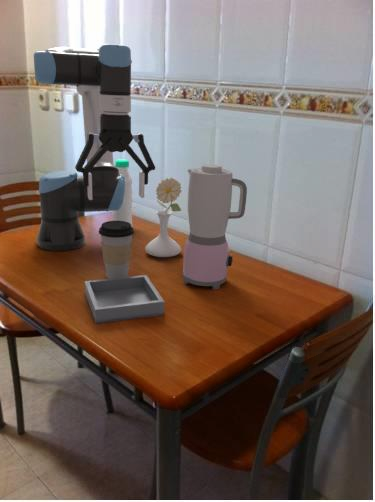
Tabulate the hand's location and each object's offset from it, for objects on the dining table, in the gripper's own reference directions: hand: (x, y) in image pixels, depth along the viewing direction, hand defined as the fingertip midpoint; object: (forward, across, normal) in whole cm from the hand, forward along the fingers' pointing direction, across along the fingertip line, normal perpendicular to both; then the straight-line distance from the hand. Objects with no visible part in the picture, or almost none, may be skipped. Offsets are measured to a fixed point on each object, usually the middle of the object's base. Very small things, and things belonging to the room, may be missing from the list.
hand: (116, 197), depth 120 cm
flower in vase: (+23, +18, +13) cm, 32 cm away
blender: (+23, +24, -10) cm, 34 cm away
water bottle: (+23, +11, +43) cm, 50 cm away
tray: (+22, -2, -17) cm, 28 cm away
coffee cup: (+23, 0, 0) cm, 23 cm away
